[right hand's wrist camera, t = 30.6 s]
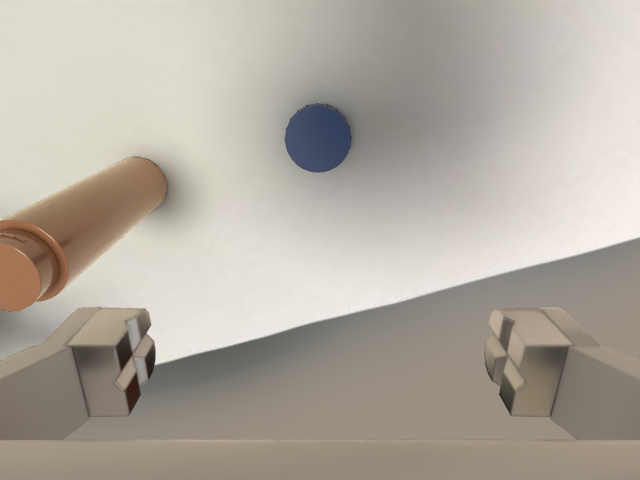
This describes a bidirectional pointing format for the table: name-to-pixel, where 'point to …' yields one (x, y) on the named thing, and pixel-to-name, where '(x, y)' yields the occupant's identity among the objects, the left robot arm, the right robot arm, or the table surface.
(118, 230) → the brown cylinder
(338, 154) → the lid
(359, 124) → the table surface
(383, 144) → the table surface
